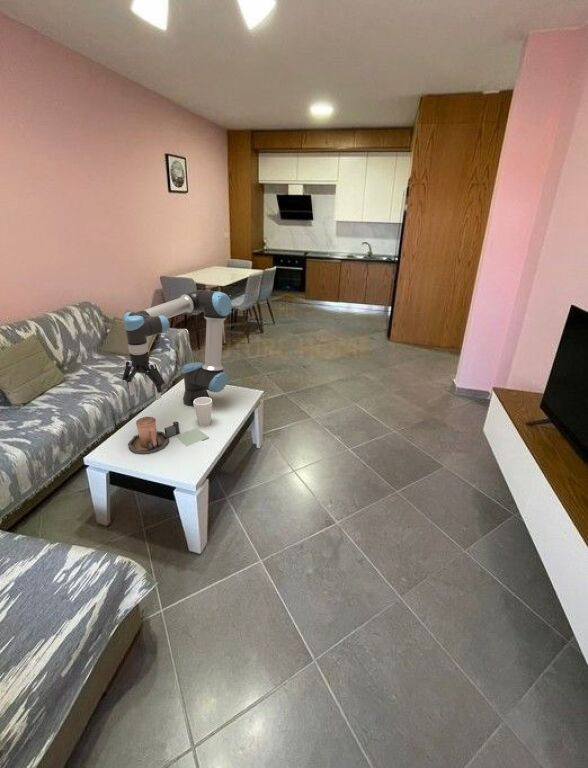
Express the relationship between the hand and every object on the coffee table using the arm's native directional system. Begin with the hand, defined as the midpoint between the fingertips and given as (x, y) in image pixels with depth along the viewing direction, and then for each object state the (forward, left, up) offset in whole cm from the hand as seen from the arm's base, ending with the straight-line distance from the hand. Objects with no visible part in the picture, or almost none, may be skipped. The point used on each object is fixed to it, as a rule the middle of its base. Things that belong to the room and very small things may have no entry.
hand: (145, 396), depth 165 cm
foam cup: (-27, +2, -24) cm, 36 cm away
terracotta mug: (+3, +4, -23) cm, 23 cm away
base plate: (+3, +3, -23) cm, 24 cm away
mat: (-15, +10, -23) cm, 30 cm away
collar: (-1, +3, -22) cm, 23 cm away
